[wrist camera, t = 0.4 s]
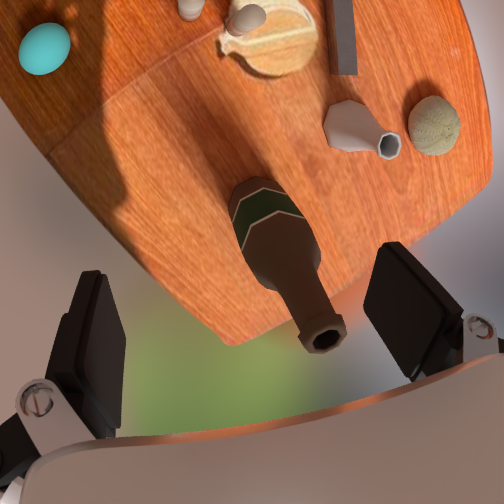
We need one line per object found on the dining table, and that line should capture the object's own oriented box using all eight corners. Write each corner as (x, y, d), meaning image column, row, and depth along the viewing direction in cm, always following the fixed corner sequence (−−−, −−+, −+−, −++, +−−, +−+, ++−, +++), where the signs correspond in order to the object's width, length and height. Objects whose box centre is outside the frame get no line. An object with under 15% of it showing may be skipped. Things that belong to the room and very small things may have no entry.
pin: (225, 18, 29) (237, 5, 22) (246, 16, 29) (264, 3, 22) (227, 37, 30) (240, 29, 23) (248, 35, 30) (267, 27, 23)
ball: (29, 36, 24) (6, 34, 19) (74, 18, 24) (56, 11, 19) (36, 80, 27) (13, 85, 22) (80, 63, 28) (63, 64, 23)
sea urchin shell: (400, 108, 36) (457, 105, 31) (406, 91, 41) (454, 88, 36) (412, 166, 42) (464, 166, 37) (417, 143, 46) (463, 142, 41)
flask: (322, 98, 36) (362, 111, 28) (371, 99, 37) (418, 114, 29) (321, 152, 40) (358, 179, 32) (369, 150, 41) (412, 175, 33)
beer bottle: (229, 232, 44) (274, 383, 24) (224, 178, 39) (274, 313, 20) (285, 224, 45) (364, 360, 25) (285, 171, 40) (384, 290, 21)
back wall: (316, -54, 24) (324, -60, 22) (335, -52, 25) (344, -57, 22) (330, 73, 34) (338, 74, 32) (347, 73, 35) (357, 74, 33)
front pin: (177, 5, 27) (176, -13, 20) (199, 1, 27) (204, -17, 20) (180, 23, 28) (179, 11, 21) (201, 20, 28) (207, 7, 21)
